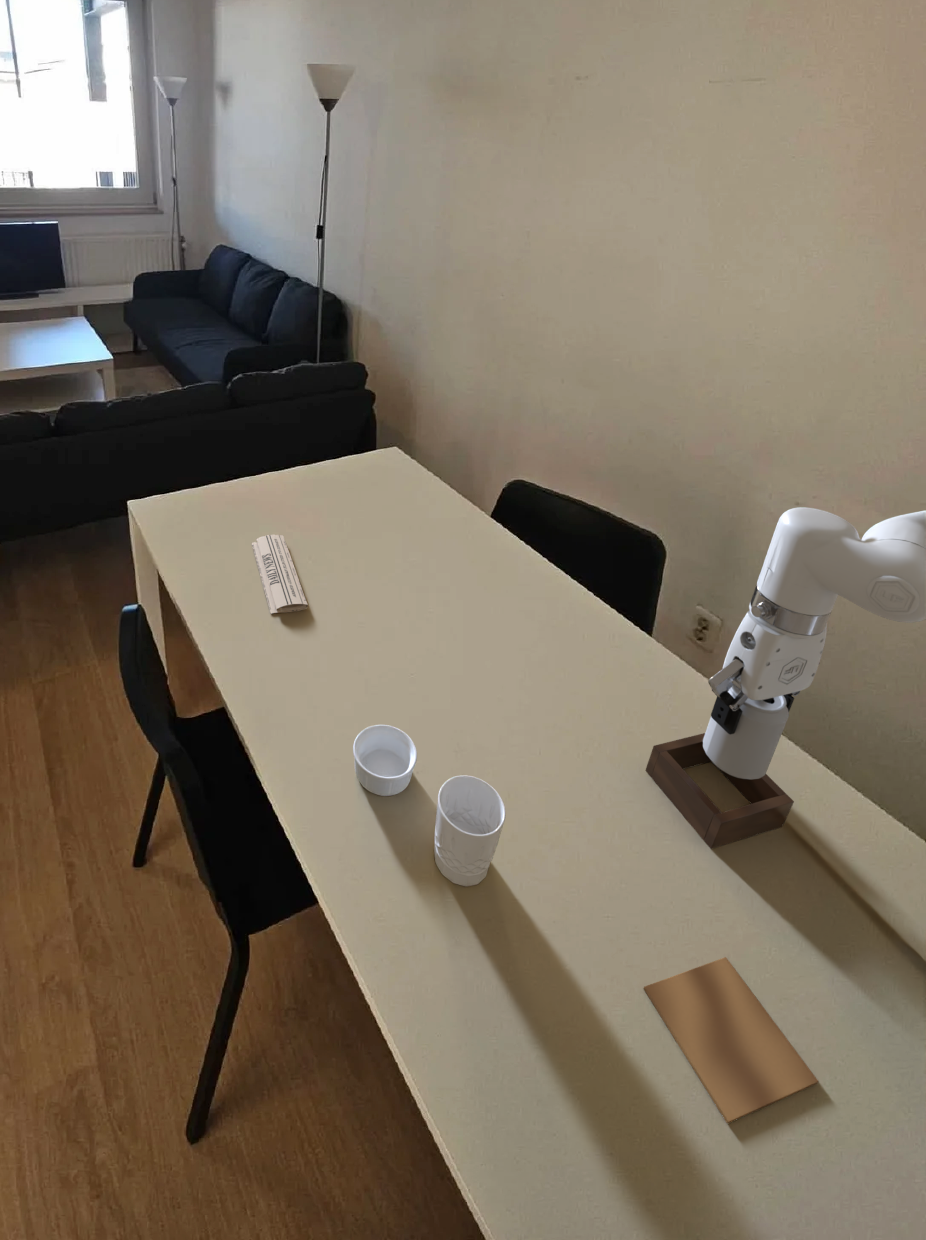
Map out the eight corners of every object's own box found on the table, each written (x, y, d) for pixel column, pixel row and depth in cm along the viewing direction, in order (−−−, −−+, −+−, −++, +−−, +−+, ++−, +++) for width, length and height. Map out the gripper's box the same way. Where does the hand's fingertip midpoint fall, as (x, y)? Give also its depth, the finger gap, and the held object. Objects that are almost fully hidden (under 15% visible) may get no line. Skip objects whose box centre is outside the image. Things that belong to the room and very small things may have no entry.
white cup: (425, 827, 87) (434, 773, 83) (486, 830, 87) (497, 776, 83) (433, 890, 80) (443, 834, 76) (499, 894, 80) (512, 838, 76)
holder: (711, 753, 99) (720, 728, 97) (782, 827, 89) (794, 801, 87) (645, 770, 96) (653, 745, 94) (710, 849, 86) (721, 823, 84)
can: (778, 785, 86) (807, 715, 81) (719, 783, 86) (745, 713, 81) (744, 737, 92) (769, 670, 88) (690, 735, 92) (712, 668, 88)
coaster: (724, 959, 74) (725, 956, 74) (817, 1083, 65) (818, 1081, 64) (643, 988, 71) (643, 986, 71) (727, 1124, 62) (728, 1122, 62)
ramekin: (406, 810, 89) (409, 787, 87) (343, 787, 92) (345, 765, 90) (420, 757, 97) (423, 735, 95) (361, 738, 99) (363, 716, 98)
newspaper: (307, 609, 126) (308, 602, 125) (270, 614, 124) (270, 606, 123) (283, 540, 147) (283, 533, 146) (251, 543, 145) (251, 536, 144)
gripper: (758, 641, 74) (717, 757, 81) (875, 616, 78) (826, 728, 85) (704, 600, 80) (670, 710, 87) (815, 578, 85) (774, 685, 92)
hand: (747, 718), depth 86 cm, fingers closed on can, 7 cm apart
